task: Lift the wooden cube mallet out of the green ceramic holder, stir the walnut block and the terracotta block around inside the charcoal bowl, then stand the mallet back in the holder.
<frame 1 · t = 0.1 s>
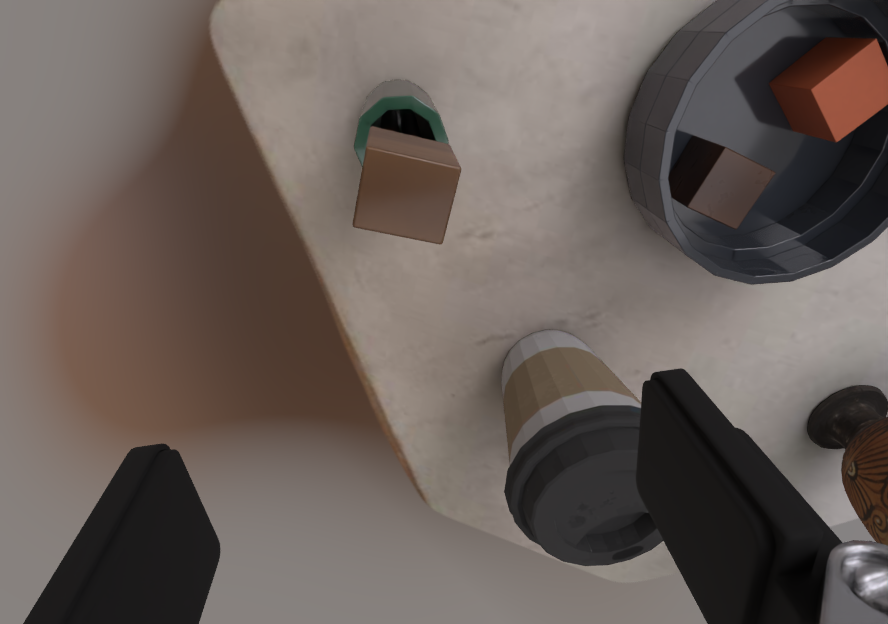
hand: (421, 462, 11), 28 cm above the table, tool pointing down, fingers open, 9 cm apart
coffee cup: (544, 365, 44), on the table
walnut block: (699, 174, 37), point 1 cm above the table, touching bowl
vase: (840, 412, 50), on the table
wooden cube mallet: (399, 118, 34), point 1 cm above the table, touching holder
terracotta block: (809, 86, 35), point 1 cm above the table, touching bowl
bowl: (747, 130, 37), on the table
holder: (398, 117, 34), on the table
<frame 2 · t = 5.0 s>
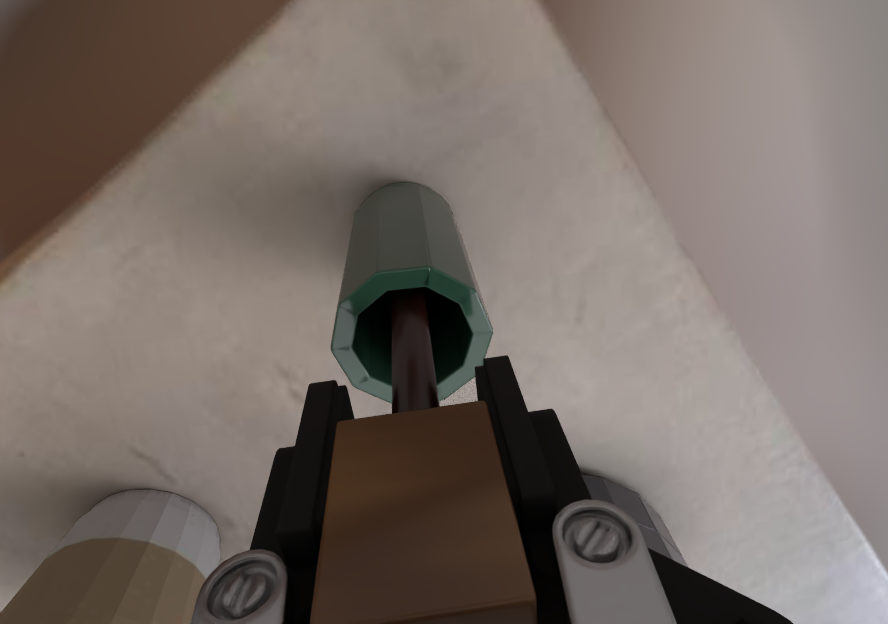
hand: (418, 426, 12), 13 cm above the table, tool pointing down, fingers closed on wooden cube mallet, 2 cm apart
coffee cup: (155, 532, 30), on the table
wooden cube mallet: (405, 238, 23), point 1 cm above the table, touching gripper, holder
bowl: (528, 568, 34), on the table
holder: (404, 233, 23), on the table
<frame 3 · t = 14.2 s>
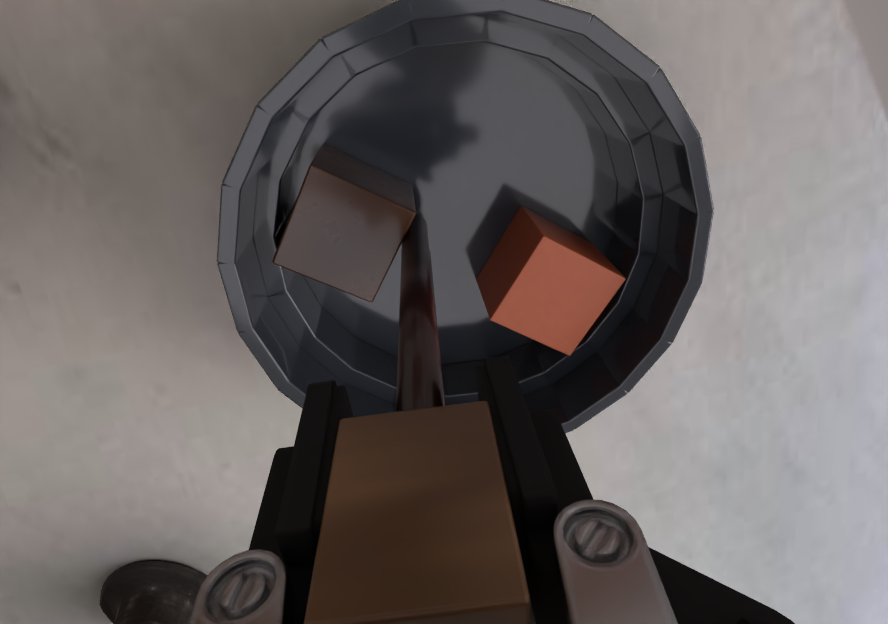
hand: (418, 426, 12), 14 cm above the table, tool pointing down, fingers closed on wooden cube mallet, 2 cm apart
walnut block: (350, 206, 23), point 1 cm above the table, touching bowl, wooden cube mallet
vase: (165, 588, 34), on the table
wooden cube mallet: (416, 236, 23), point 2 cm above the table, touching gripper, walnut block
terracotta block: (533, 261, 25), point 1 cm above the table, touching bowl
bowl: (454, 220, 25), on the table
when the fingers open (13 cm above the table, at t = 26.6 s): wooden cube mallet stays where it is, resting on holder.
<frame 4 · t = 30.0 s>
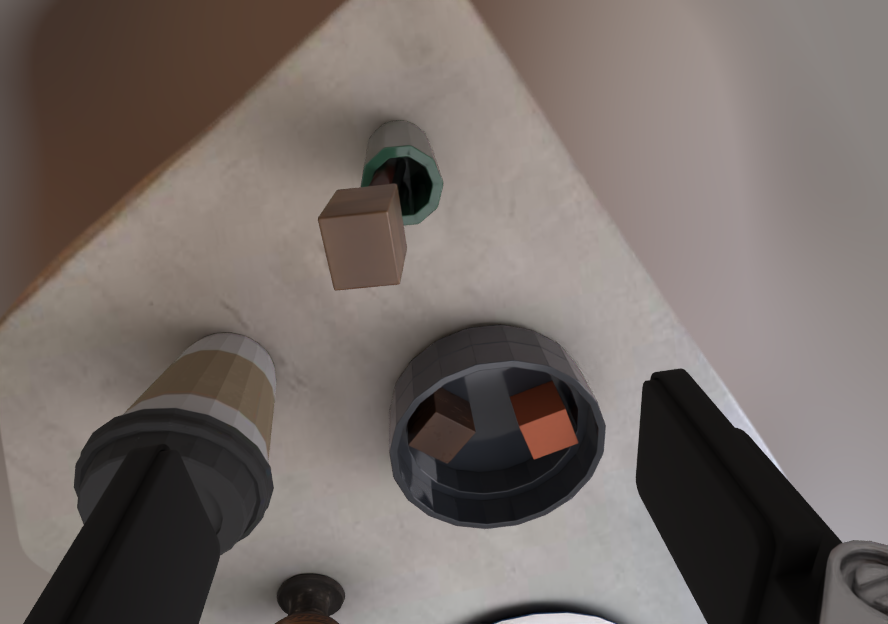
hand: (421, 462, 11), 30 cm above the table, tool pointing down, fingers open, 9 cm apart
coffee cup: (231, 368, 45), on the table
walnut block: (438, 408, 48), point 1 cm above the table, touching bowl
vase: (312, 589, 58), on the table
wooden cube mallet: (398, 155, 37), point 1 cm above the table, tilted 6°, touching holder
terracotta block: (537, 405, 48), point 1 cm above the table, touching bowl
bowl: (487, 406, 49), on the table
holder: (399, 153, 38), on the table
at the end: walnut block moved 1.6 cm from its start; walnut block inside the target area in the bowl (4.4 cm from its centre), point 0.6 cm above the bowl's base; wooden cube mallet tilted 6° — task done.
